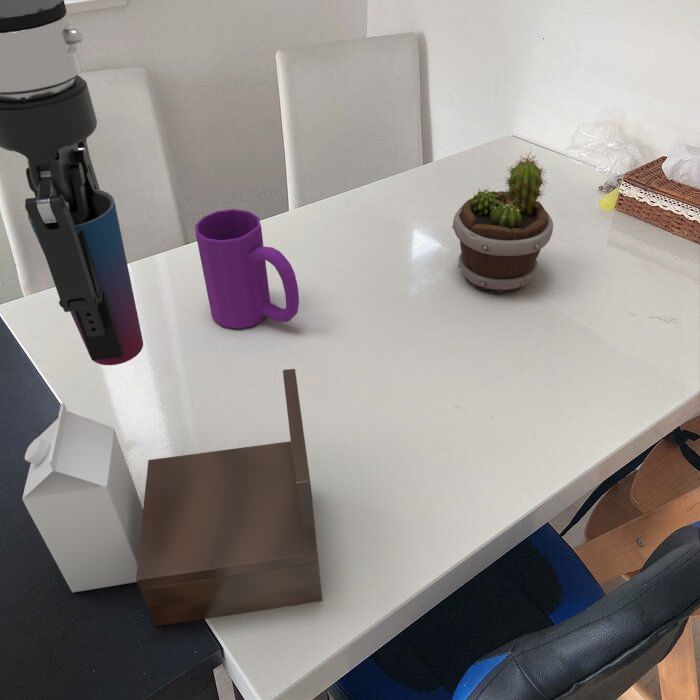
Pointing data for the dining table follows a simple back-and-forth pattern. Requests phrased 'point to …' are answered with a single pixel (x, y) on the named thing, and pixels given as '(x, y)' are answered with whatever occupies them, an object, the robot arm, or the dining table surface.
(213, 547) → the wooden box with backboard
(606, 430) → the dining table surface
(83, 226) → the cup
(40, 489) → the milk carton
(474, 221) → the flowerpot
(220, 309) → the mug
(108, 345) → the robot arm
